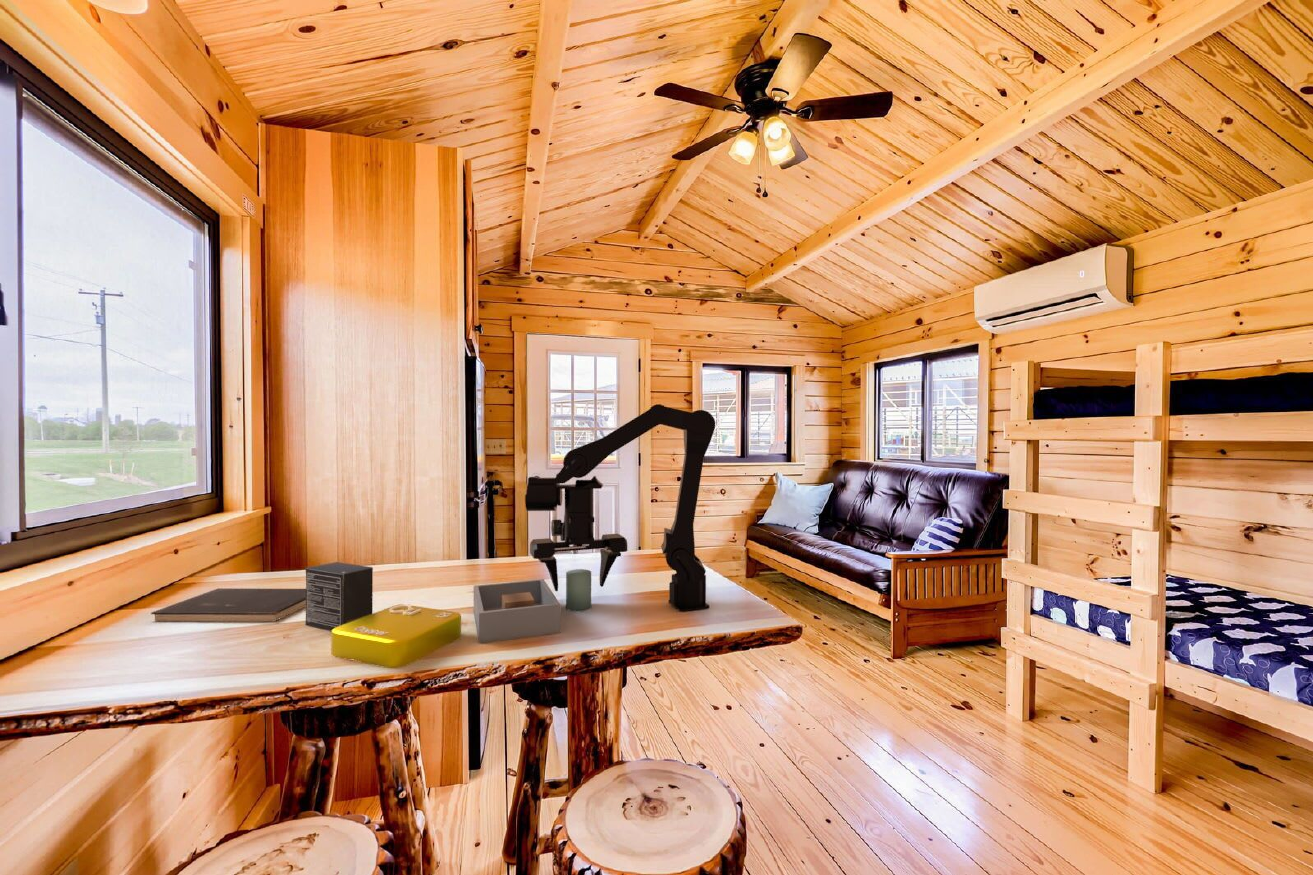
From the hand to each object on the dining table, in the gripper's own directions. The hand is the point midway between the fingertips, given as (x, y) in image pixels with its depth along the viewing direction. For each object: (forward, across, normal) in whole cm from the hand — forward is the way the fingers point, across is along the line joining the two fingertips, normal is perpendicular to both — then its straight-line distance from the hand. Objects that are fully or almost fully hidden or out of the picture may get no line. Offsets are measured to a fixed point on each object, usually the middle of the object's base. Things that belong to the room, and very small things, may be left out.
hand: (579, 588), depth 112 cm
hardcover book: (+4, +62, -23) cm, 66 cm away
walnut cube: (+3, +13, +8) cm, 16 cm away
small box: (+4, +43, -6) cm, 44 cm away
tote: (+4, +13, +4) cm, 14 cm away
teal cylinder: (+4, 0, 0) cm, 4 cm away
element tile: (+4, +32, +8) cm, 34 cm away
